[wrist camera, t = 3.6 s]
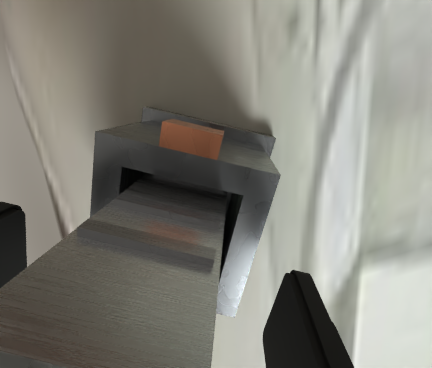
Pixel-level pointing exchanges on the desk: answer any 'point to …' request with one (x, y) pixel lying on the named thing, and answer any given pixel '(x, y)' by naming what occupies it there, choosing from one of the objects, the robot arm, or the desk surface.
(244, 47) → the desk surface
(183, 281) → the column
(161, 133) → the stand base
